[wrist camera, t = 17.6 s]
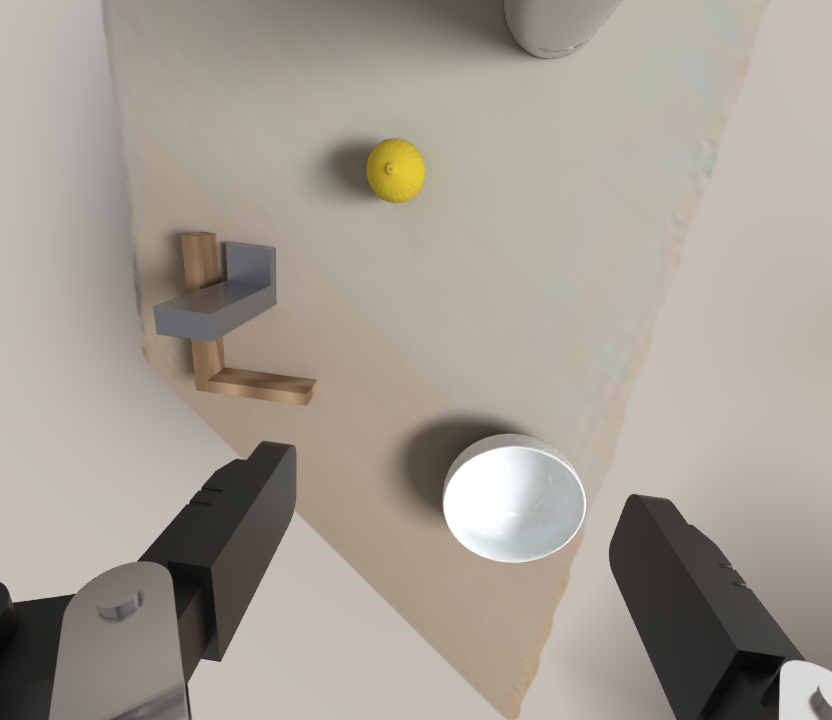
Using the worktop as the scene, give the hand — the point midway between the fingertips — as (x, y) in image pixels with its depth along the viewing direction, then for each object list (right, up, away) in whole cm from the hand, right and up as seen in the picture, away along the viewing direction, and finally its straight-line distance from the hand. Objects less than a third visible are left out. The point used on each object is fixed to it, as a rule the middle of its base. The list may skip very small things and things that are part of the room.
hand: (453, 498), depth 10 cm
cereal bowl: (+11, -12, +45) cm, 48 cm away
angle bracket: (-20, +13, +37) cm, 44 cm away
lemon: (-2, +23, +33) cm, 40 cm away
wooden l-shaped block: (-19, +9, +39) cm, 45 cm away
